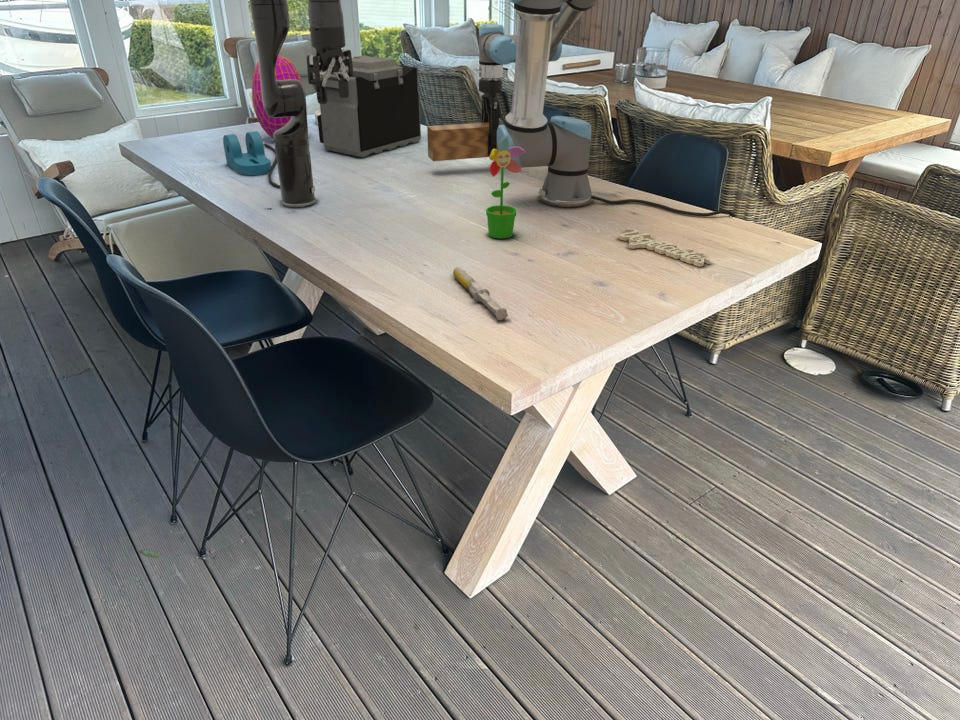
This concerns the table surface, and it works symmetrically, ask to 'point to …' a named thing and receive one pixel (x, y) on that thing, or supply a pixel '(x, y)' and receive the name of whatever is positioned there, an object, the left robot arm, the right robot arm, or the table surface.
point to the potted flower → (500, 214)
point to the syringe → (479, 293)
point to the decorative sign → (663, 247)
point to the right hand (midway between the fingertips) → (489, 152)
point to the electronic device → (371, 108)
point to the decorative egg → (269, 125)
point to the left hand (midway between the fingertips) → (333, 100)
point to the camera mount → (246, 154)
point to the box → (458, 141)
